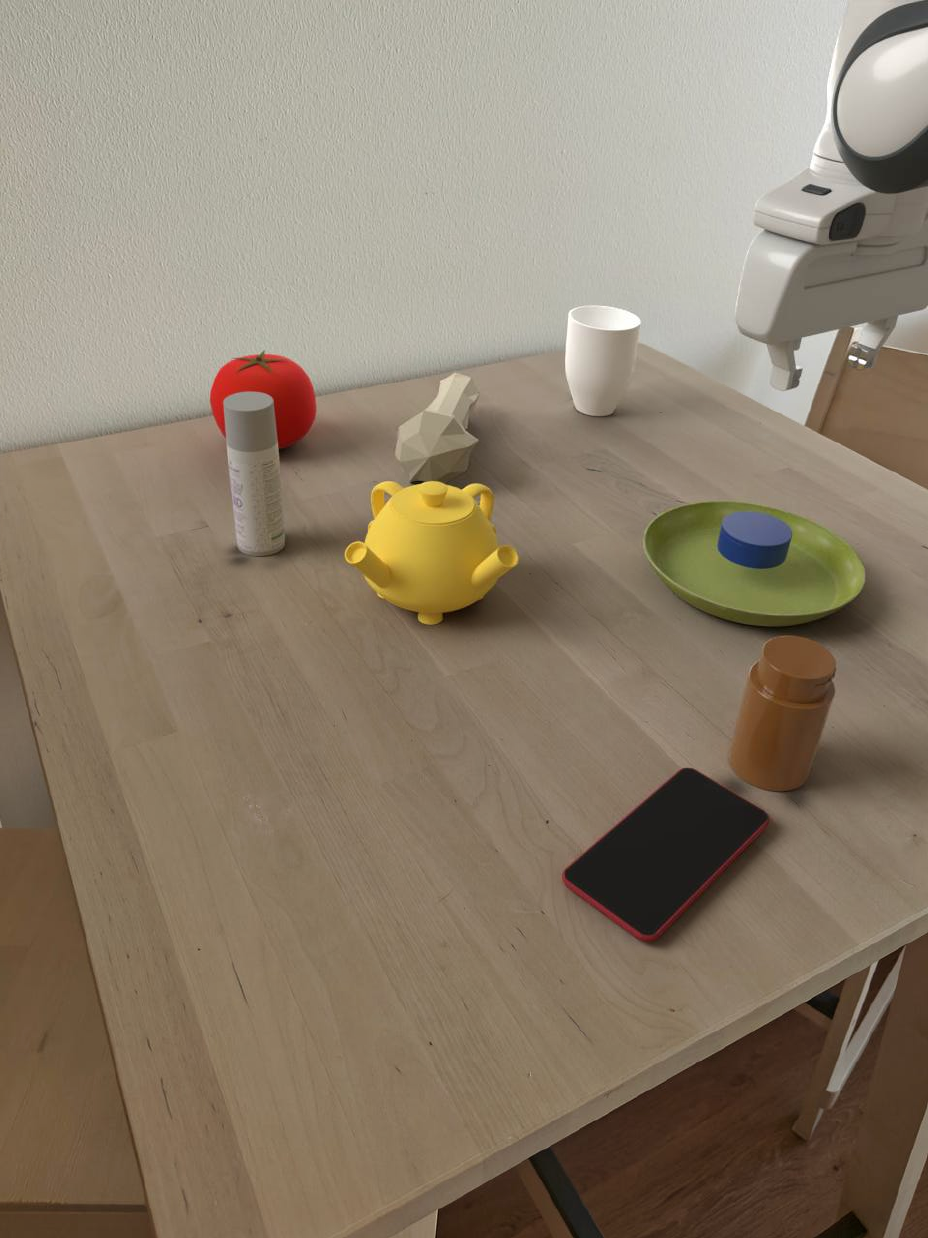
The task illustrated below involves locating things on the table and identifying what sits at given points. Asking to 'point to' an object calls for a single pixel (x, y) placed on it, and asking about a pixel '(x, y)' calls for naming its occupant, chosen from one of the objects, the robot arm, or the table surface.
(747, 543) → the jar lid
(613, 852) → the smartphone
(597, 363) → the mug
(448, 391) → the faceted club
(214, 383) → the tomato
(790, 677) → the jar
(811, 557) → the saucer
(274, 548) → the container
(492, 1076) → the table surface
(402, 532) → the teapot
